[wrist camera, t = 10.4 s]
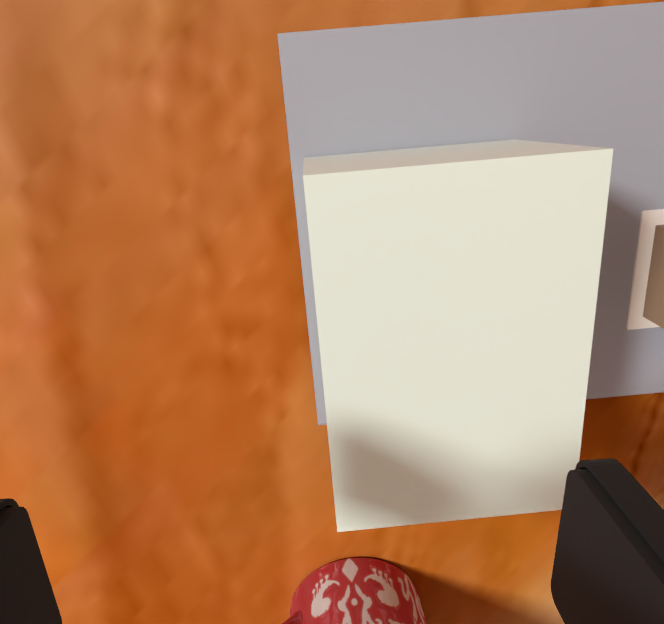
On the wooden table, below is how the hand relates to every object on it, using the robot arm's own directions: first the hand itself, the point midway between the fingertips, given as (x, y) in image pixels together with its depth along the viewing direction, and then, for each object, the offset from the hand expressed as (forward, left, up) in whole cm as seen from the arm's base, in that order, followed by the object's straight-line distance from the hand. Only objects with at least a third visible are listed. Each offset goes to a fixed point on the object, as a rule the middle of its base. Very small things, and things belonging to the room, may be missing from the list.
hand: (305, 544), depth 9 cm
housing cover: (0, -5, -13) cm, 14 cm away
